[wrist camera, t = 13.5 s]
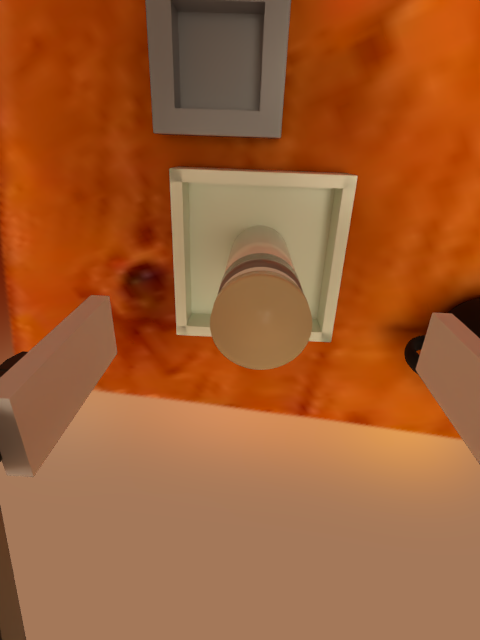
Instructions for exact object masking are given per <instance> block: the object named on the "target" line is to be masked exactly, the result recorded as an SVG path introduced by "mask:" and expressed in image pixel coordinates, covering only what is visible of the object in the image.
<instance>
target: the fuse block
mask: <svg viewBox="0 0 480 640" xmlns="http://www.w3.org/2000/svg"><path fill="white" fill-rule="evenodd" d="M145 1H146V18H147V35H148V51H149V68H150V84H151V101H152V117H153V133H157V134H163V135H189V136H216V137H243V138H270V139H279V138H281V128H282V115H283V101H284V88H285V74H286V61H287V47H288V33H289V20H290V6H291V0H145Z"/></svg>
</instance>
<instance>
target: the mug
mask: <svg viewBox="0 0 480 640" xmlns="http://www.w3.org/2000/svg"><path fill="white" fill-rule="evenodd" d="M448 313H452V314H453V315H454V316H455V317H456V318H457V319H459V320H460V321H461V322H462V323H463V324H464V325H465V326H466V327H468V328H469V329H470V330H471V331H472V332H473V333H474V334H475V335H476V336H478V337H479V338H480V298H478V299H473V300H470V301H467V302H464V303H462V304H460V305H458V306H456V307H455V308H453V309H452V310H451V311H450V312H448ZM425 336H426V335H422V336H418V337H415V338H413V339H412V340H410V341H409V342H408V344H407V346H406V348H405V359H406V361H407V363H408V365H409V366H410V367H411V369H412V370H413V371H415V372H416V373H417V371H416V366H417V363H418V359H419V356H420V355H419V354H418V353H417V352H416V351H417V350H421V349H422V346H423V343H424V339H425ZM417 374H418V373H417ZM418 375H419V374H418Z"/></svg>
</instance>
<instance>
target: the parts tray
mask: <svg viewBox="0 0 480 640" xmlns="http://www.w3.org/2000/svg"><path fill="white" fill-rule="evenodd" d="M169 176H170V198H171V220H172V242H173V264H174V286H175V308H176V330H177V335H191V336H212V335H211V330H210V317H211V313H212V309H213V305H214V302H215V300H216V297H217V295H218V291H219V288H220V284H221V281H222V278H223V276H224V273H225V269H226V265H227V261H228V258H229V254H230V250H231V247H232V244H233V241H234V240H235V238H236V237H237V235H238V234H239V233H240V232H242V231H243V230H245V229H246V228H249V227H252V226H257V225H262V226H267V227H270V228H273V229H274V230H276V231H277V232H279V233H280V234H281V236H282V237H283V238H284V240H285V242H286V244H287V247H288V250H289V253H290V257H291V260H292V263H293V266H294V269H295V272H296V274H297V276H298V279H299V281H300V284H301V287H302V290H303V293H304V295H305V297H306V299H307V302H308V305H309V308H310V311H311V315H312V332H311V336H310V338H309V341H317V342H331V339H332V332H333V326H334V320H335V314H336V308H337V301H338V295H339V289H340V283H341V277H342V270H343V264H344V258H345V252H346V246H347V239H348V233H349V227H350V221H351V215H352V208H353V202H354V196H355V190H356V184H357V177H358V176H357V175H353V174H349V173H333V172H308V171H282V170H256V169H230V168H205V167H179V166H178V167H173V168H169Z"/></svg>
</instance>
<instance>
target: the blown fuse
mask: <svg viewBox="0 0 480 640" xmlns="http://www.w3.org/2000/svg"><path fill="white" fill-rule="evenodd" d="M210 330H211V335H212V338H213V341H214V343H215V344H216V346H217V348H218V349H219V350H220V352H221V353H222V354H223V355H224V356H225V357H227V358H228V359H229V360H231V361H232V362H234V363H236V364H238V365H240V366H243V367H245V368H250V369H257V370H265V369H272V368H276V367H279V366H282V365H284V364H286V363H288V362H290V361H292V360H293V359H294V358H296V357H297V356H298V355H299V354H300V353H301V352H302V351H303V349H304V348H305V346H306V345H307V343H308V341H309V338H310V336H311V332H312V315H311V311H310V308H309V305H308V302H307V299H306V297H305V295H304V293H303V290H302V287H301V284H300V281H299V279H298V276H297V274H296V272H295V269H294V266H293V263H292V260H291V257H290V253H289V250H288V247H287V244H286V242H285V240H284V238H283V237H282V236H281V234H280V233H279V232H277V231H276V230H274V229H273V228H270V227H267V226H262V225H257V226H252V227H249V228H246V229H245V230H243V231H242V232H240V233H239V234H238V235H237V237H236V238H235V240H234V241H233V244H232V247H231V250H230V254H229V258H228V261H227V265H226V269H225V273H224V276H223V278H222V281H221V284H220V288H219V291H218V295H217V297H216V300H215V302H214V305H213V309H212V313H211V317H210Z"/></svg>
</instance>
